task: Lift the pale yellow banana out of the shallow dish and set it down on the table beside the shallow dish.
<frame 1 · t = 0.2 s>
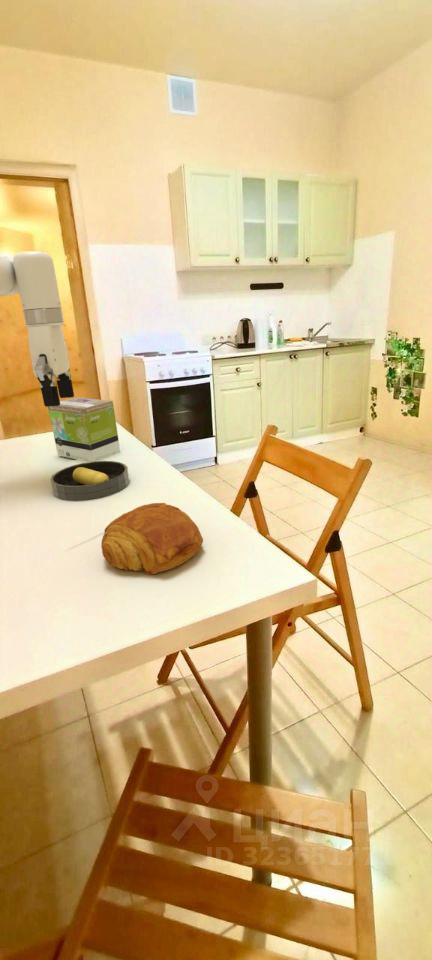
hand: (60, 401, 98), 18 cm above the table, tool pointing down, fingers open, 9 cm apart
banana: (92, 485, 98), resting on shallow dish
tea box: (89, 456, 122), on the table
shallow dish: (92, 487, 98), on the table
croissant: (156, 553, 69), on the table
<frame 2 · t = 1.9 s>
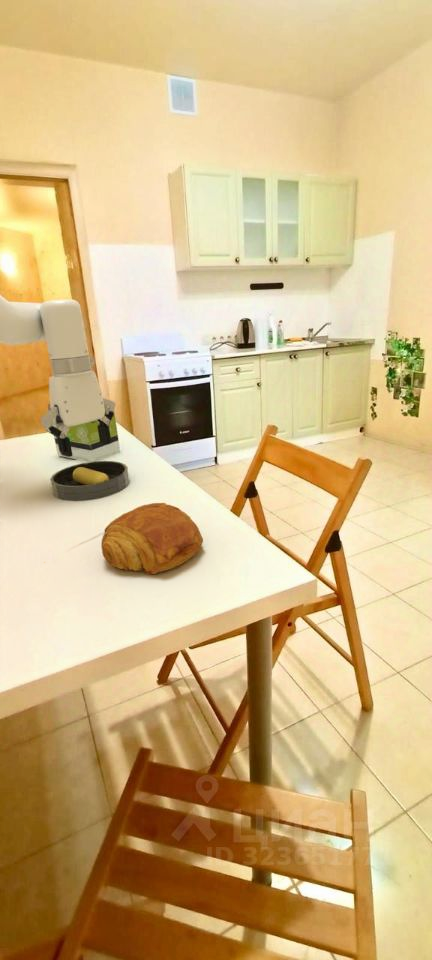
hand: (87, 449, 95), 9 cm above the table, tool pointing down, fingers open, 9 cm apart
nothing on the table moved.
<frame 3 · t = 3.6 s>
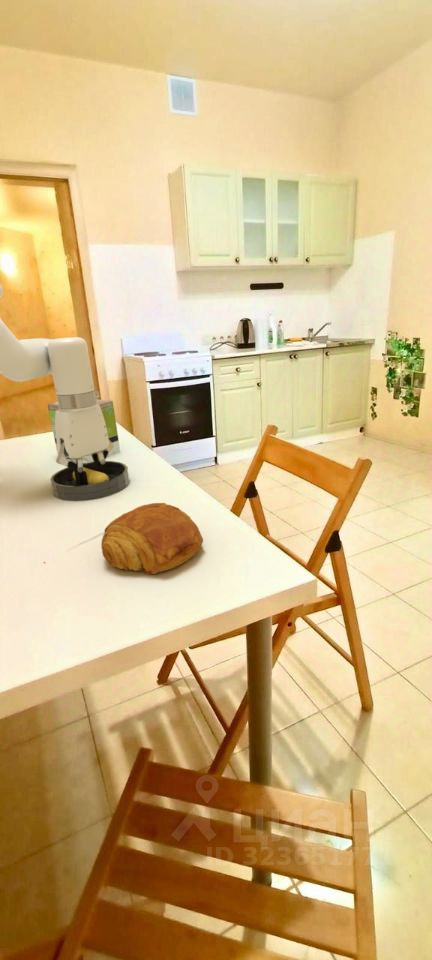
hand: (91, 483, 98), 1 cm above the table, tool pointing down, fingers closed on banana, 3 cm apart
banana: (92, 485, 98), point 1 cm above the table, touching gripper, shallow dish
everything else where it was.
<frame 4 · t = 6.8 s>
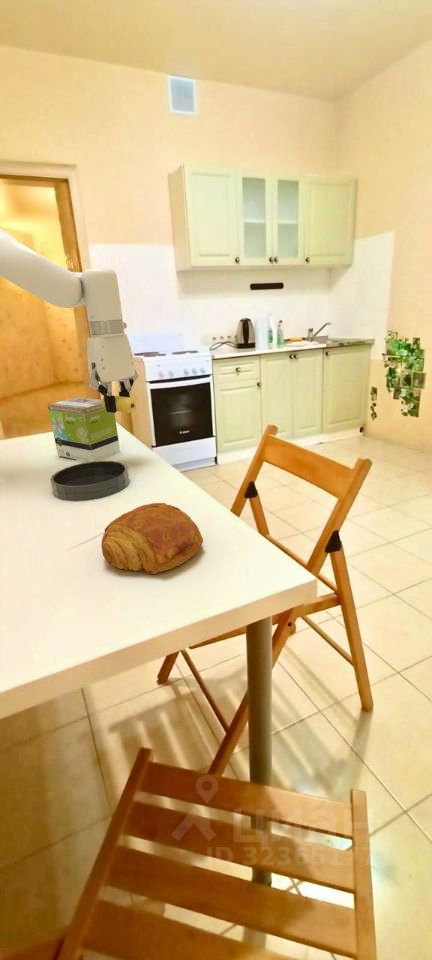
hand: (118, 409, 106), 14 cm above the table, tool pointing down, fingers closed on banana, 3 cm apart
banana: (119, 411, 107), point 14 cm above the table, touching gripper
everything else where it was.
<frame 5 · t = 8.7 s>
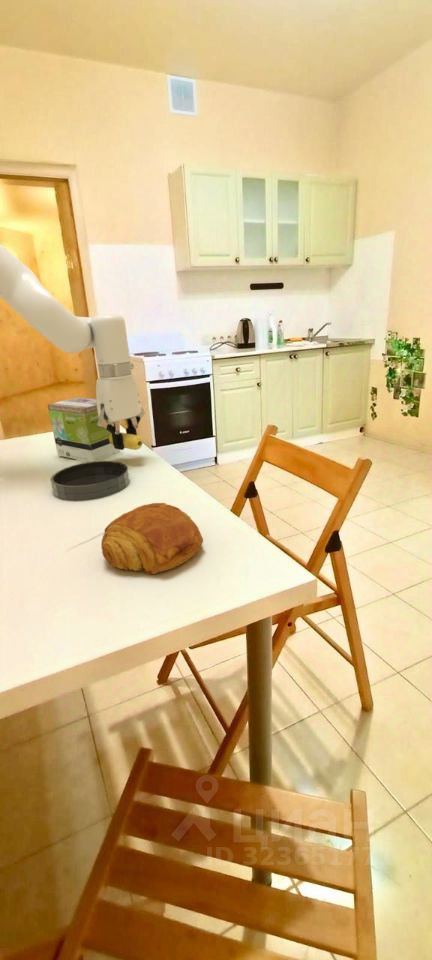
hand: (126, 445, 111), 5 cm above the table, tool pointing down, fingers closed on banana, 3 cm apart
banana: (126, 447, 111), point 4 cm above the table, touching gripper
everything else where it was.
when the fingers open (0 cm above the table, at t = 10.1 s): banana stays where it is, on the table.
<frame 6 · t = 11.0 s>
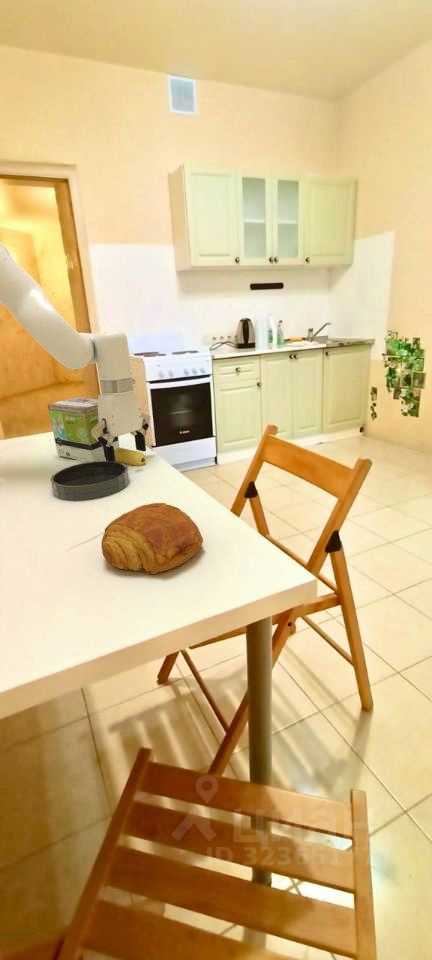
hand: (126, 455, 111), 2 cm above the table, tool pointing down, fingers open, 9 cm apart
banana: (128, 463, 112), on the table, tilted 12°
everything else where it was.
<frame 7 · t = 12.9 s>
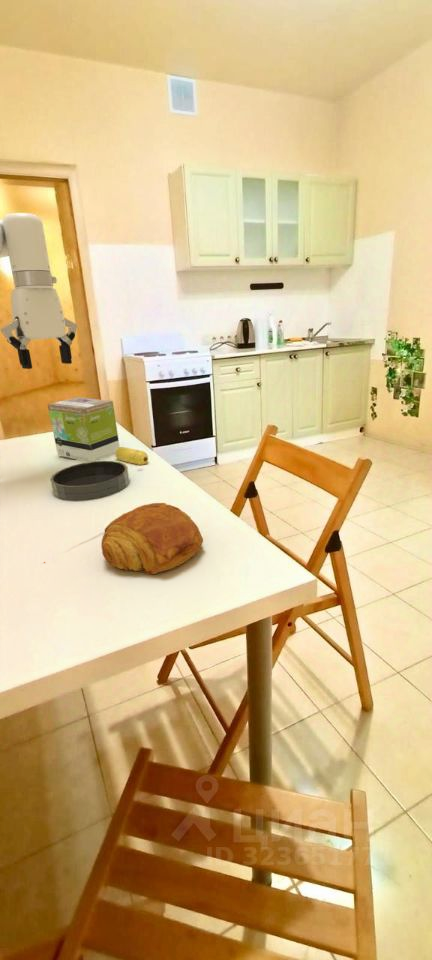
hand: (47, 365, 100), 25 cm above the table, tool pointing down, fingers open, 9 cm apart
banana: (128, 462, 112), on the table, tilted 38°
everything else where it was.
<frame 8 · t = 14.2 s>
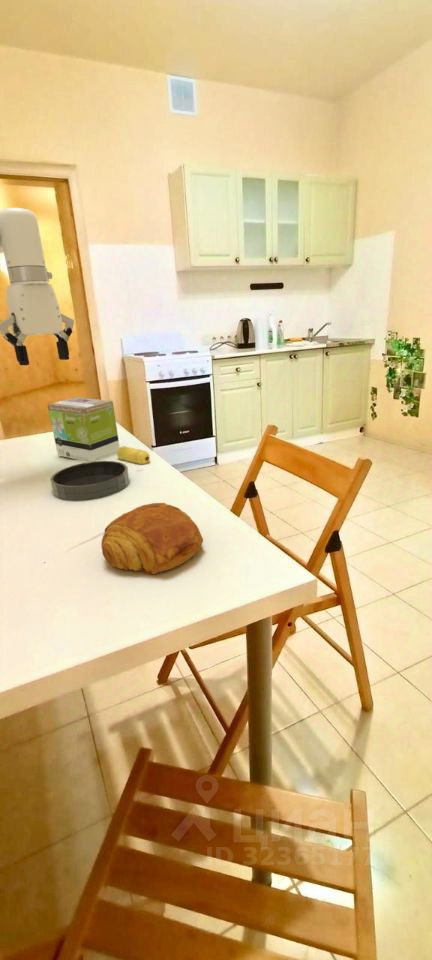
hand: (45, 362, 99), 26 cm above the table, tool pointing down, fingers open, 9 cm apart
banana: (129, 460, 112), point 1 cm above the table, tilted 55°
everything else where it was.
at the end: banana inside the target area (0.3 cm from its centre), point 0.8 cm above the table; the gripper is holding nothing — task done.
